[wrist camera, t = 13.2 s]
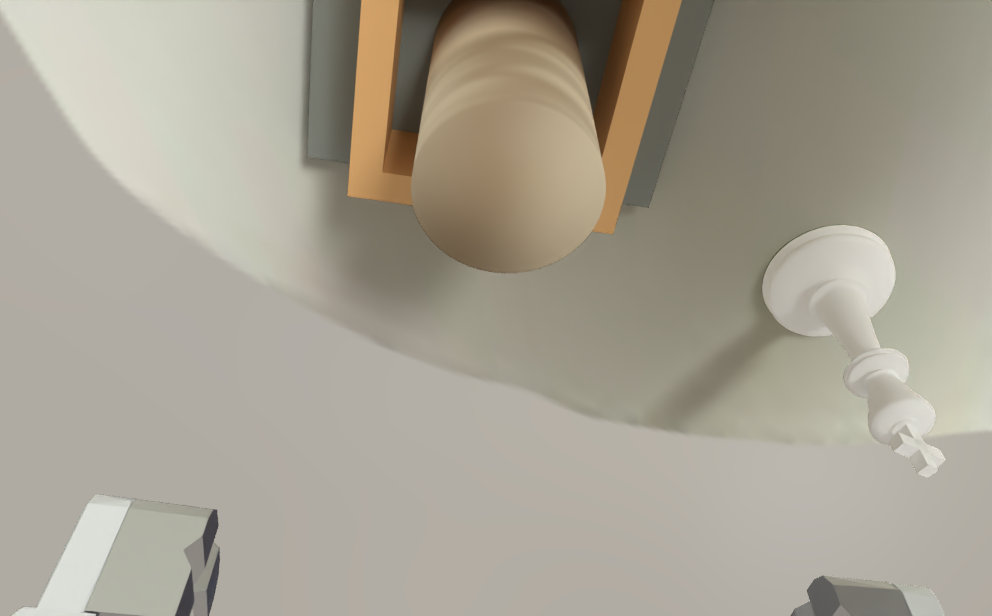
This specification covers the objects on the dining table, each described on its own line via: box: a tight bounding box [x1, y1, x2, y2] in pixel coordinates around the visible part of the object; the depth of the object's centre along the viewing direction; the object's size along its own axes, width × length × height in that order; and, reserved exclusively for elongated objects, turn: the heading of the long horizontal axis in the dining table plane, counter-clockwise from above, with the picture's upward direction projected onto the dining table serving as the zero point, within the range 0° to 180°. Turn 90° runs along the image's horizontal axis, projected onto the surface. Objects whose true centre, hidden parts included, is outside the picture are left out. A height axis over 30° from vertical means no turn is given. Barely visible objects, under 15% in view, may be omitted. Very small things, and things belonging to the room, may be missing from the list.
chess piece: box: [762, 225, 945, 478], centre depth 30 cm, size 5×5×10 cm
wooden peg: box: [411, 0, 606, 273], centre depth 23 cm, size 4×4×9 cm
